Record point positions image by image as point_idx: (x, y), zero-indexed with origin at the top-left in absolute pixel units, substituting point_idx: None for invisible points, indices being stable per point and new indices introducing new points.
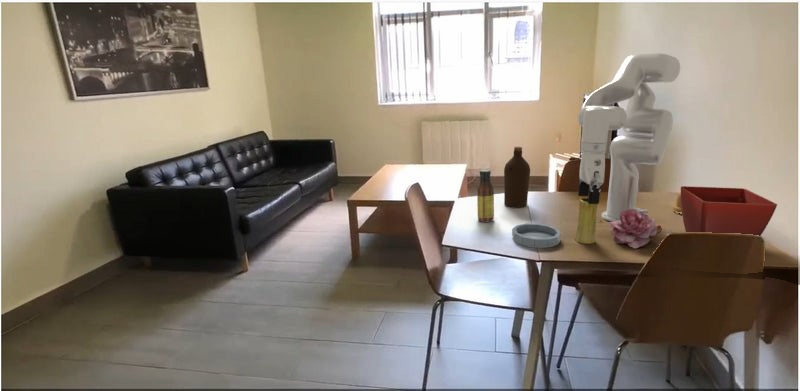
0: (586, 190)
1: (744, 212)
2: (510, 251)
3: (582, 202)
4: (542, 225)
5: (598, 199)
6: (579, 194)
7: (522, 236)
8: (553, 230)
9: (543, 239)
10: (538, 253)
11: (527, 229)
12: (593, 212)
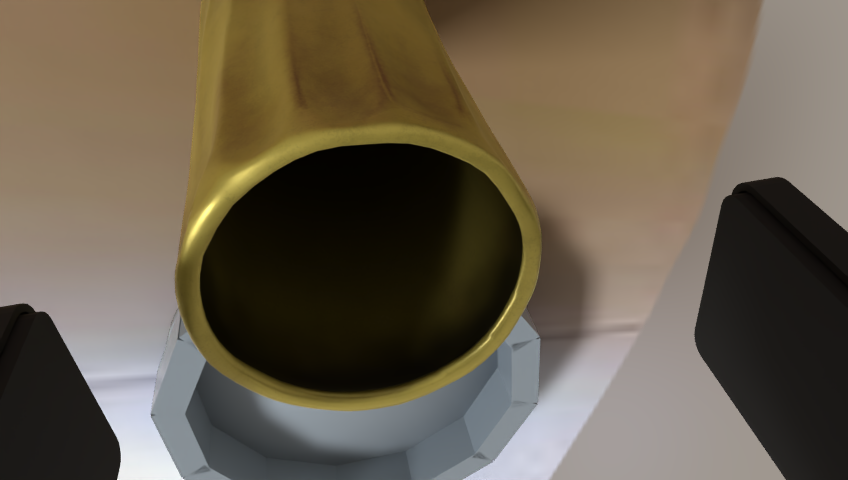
0: (23, 465)
1: None
2: (566, 444)
3: (445, 361)
4: (197, 381)
5: (834, 241)
6: (112, 472)
7: (483, 462)
8: None
9: (539, 360)
10: (604, 330)
11: (210, 428)
12: (463, 91)
